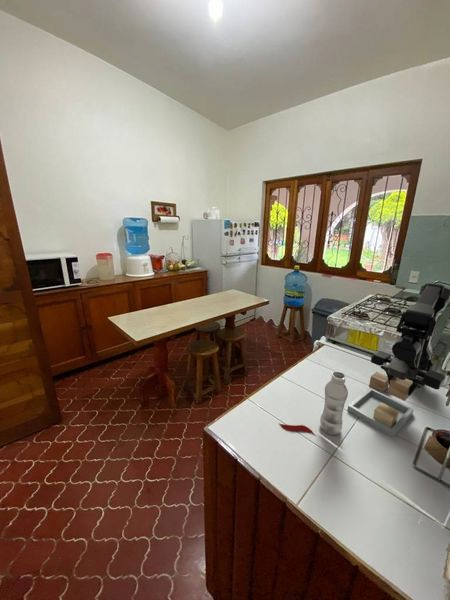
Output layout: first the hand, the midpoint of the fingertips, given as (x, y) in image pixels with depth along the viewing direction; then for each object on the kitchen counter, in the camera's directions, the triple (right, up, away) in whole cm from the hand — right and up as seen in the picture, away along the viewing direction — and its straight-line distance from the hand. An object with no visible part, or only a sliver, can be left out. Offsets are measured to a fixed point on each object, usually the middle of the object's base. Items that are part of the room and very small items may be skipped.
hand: (399, 390), depth 82 cm
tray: (-5, -9, +3) cm, 11 cm away
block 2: (-7, -10, -2) cm, 12 cm away
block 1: (+3, -5, +16) cm, 17 cm away
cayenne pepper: (-35, -11, -3) cm, 37 cm away
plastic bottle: (-25, -11, -4) cm, 27 cm away
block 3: (0, -1, 0) cm, 1 cm away
